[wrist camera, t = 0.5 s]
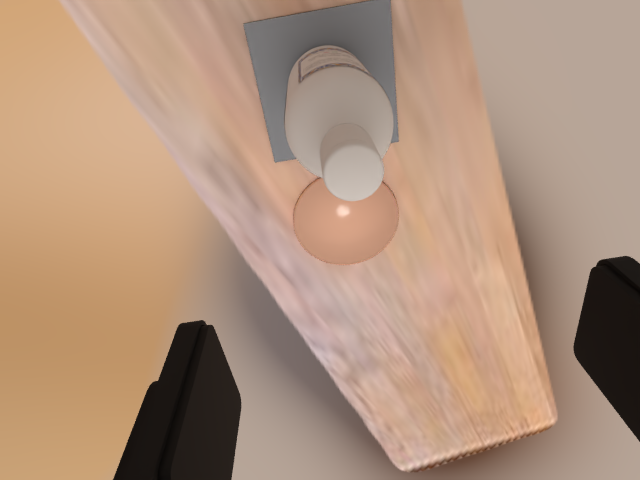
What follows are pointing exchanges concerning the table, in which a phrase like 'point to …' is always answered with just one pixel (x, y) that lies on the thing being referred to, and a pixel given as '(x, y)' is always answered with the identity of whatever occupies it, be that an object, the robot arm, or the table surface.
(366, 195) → the bath foam
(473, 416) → the table surface
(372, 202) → the flat salmon disc
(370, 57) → the tile
